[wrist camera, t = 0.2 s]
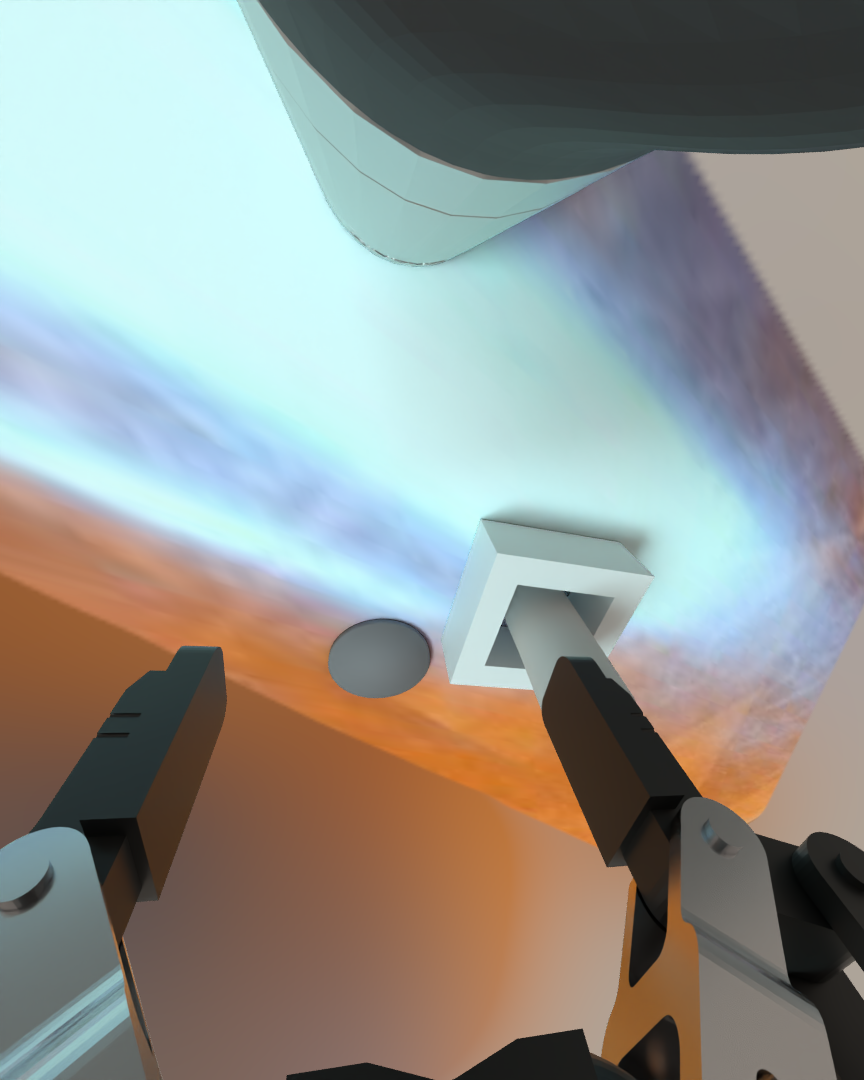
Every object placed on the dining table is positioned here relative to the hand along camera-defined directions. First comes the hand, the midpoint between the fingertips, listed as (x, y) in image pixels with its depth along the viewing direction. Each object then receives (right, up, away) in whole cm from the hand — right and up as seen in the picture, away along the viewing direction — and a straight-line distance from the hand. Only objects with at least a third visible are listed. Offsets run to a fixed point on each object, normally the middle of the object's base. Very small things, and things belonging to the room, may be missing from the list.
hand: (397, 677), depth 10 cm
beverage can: (+8, -1, +22) cm, 24 cm away
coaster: (-3, -6, +24) cm, 25 cm away
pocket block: (+8, -1, +22) cm, 24 cm away
